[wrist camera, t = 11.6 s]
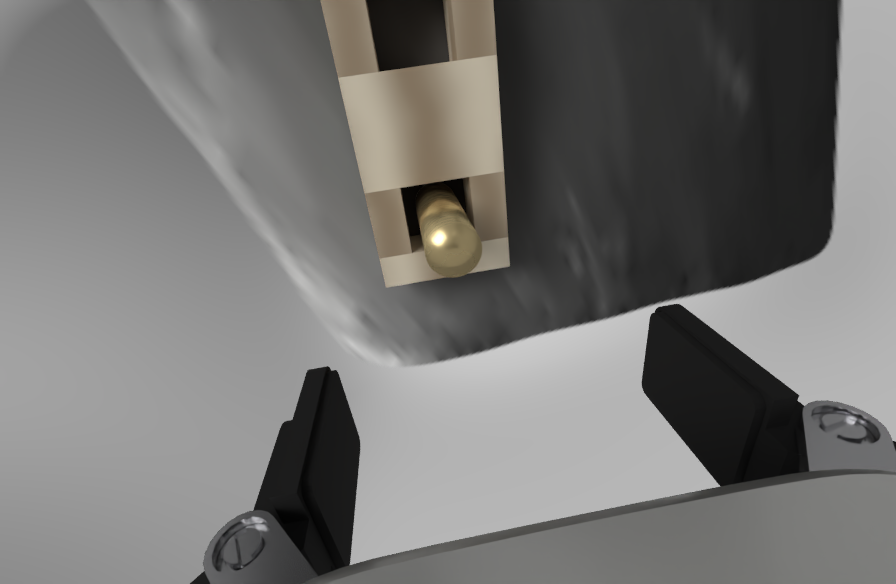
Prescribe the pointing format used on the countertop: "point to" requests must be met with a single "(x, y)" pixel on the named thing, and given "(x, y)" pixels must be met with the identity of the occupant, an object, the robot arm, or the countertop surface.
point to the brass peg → (446, 231)
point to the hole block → (424, 130)
